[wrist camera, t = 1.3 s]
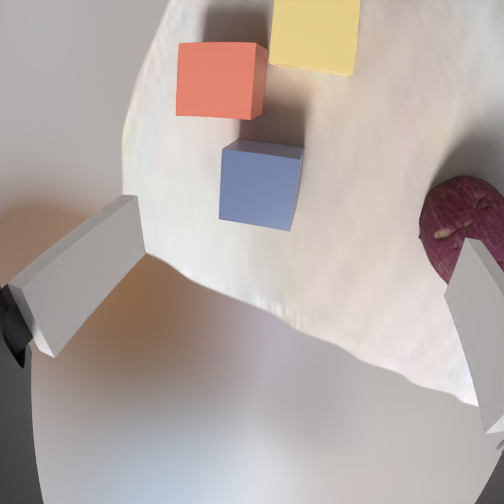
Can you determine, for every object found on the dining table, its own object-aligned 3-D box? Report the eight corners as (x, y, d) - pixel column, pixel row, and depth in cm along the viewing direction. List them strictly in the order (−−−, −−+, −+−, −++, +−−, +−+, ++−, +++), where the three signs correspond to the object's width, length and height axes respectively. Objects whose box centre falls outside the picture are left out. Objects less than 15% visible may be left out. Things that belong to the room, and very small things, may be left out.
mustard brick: (284, 5, 21) (275, -11, 16) (354, 14, 20) (360, 0, 16) (278, 66, 24) (268, 62, 19) (348, 77, 23) (353, 74, 19)
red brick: (202, 48, 24) (179, 43, 20) (268, 50, 23) (256, 42, 19) (198, 109, 27) (175, 115, 23) (262, 114, 26) (250, 119, 22)
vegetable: (498, 209, 27) (585, 289, 15) (442, 274, 31) (512, 373, 19) (459, 147, 23) (580, 225, 11) (393, 227, 28) (482, 344, 15)
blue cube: (238, 138, 28) (222, 149, 24) (304, 147, 27) (300, 159, 23) (234, 198, 31) (218, 219, 27) (295, 208, 30) (289, 231, 26)
